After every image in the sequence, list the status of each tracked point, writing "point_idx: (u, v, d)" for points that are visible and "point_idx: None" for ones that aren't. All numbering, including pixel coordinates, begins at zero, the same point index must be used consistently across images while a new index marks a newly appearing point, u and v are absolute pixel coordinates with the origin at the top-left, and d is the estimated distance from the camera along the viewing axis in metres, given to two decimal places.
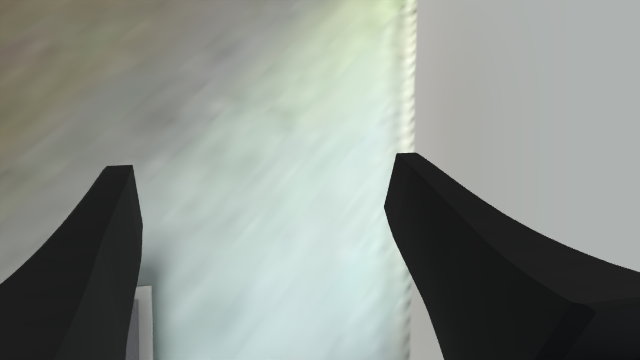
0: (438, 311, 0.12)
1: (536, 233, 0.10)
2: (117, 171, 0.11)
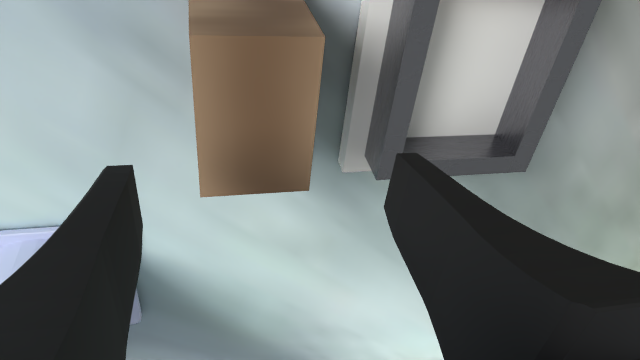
0: (438, 311, 0.12)
1: (536, 233, 0.10)
2: (118, 170, 0.11)
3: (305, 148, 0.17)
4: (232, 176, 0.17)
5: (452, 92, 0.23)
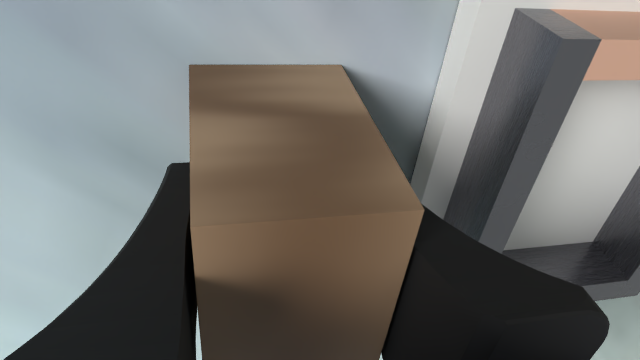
0: None
1: (470, 239, 0.10)
2: (183, 167, 0.12)
3: (371, 346, 0.11)
4: None
5: (547, 199, 0.17)
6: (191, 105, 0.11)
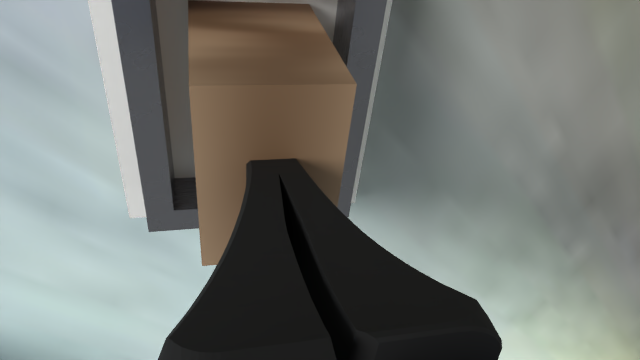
0: None
1: (378, 247, 0.09)
2: (264, 164, 0.12)
3: None
4: None
5: None
6: (189, 23, 0.14)
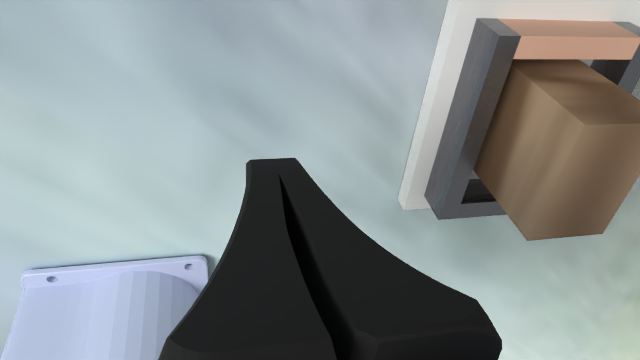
0: None
1: (379, 247, 0.09)
2: (264, 164, 0.12)
3: (616, 202, 0.21)
4: (557, 224, 0.21)
5: None
6: (529, 78, 0.21)
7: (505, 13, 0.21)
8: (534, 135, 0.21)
